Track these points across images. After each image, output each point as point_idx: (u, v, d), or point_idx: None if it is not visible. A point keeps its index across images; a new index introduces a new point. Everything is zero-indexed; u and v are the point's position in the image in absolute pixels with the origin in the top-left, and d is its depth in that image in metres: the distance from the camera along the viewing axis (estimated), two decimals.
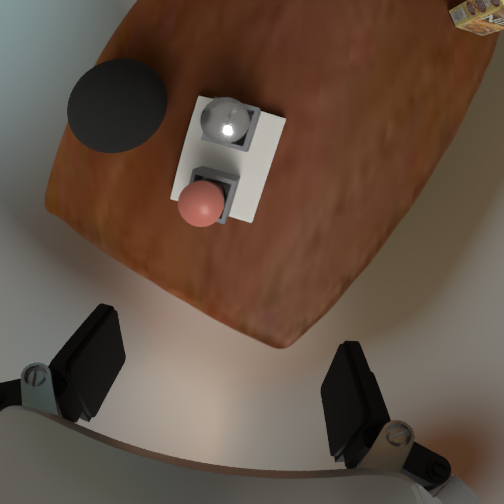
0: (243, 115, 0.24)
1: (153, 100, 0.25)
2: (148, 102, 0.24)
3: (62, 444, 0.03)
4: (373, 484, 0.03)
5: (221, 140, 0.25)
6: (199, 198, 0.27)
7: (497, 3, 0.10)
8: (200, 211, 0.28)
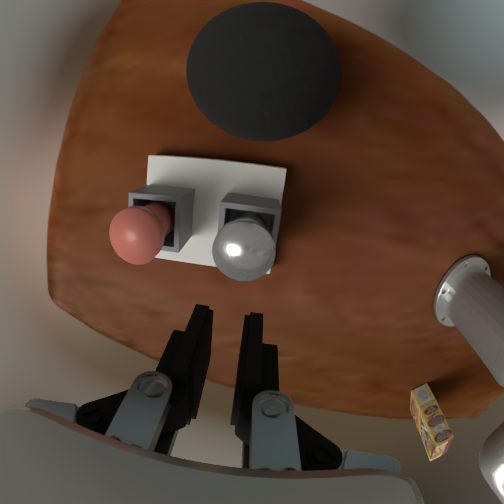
0: (253, 274, 0.21)
1: (268, 137, 0.19)
2: (263, 133, 0.18)
3: (62, 444, 0.03)
4: (373, 484, 0.03)
5: (215, 253, 0.21)
6: (140, 235, 0.20)
7: (438, 440, 0.29)
8: (126, 239, 0.21)
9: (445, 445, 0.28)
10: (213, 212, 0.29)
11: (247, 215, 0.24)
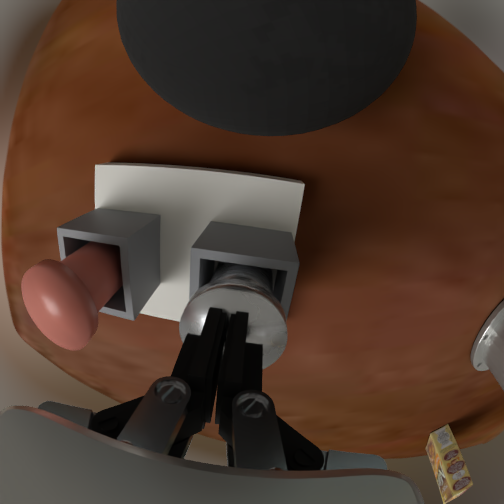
0: None
1: (278, 126, 0.09)
2: (268, 117, 0.08)
3: (62, 444, 0.03)
4: (373, 484, 0.03)
5: None
6: (58, 311, 0.10)
7: (456, 488, 0.18)
8: (43, 312, 0.10)
9: (463, 491, 0.17)
10: (189, 251, 0.19)
11: None
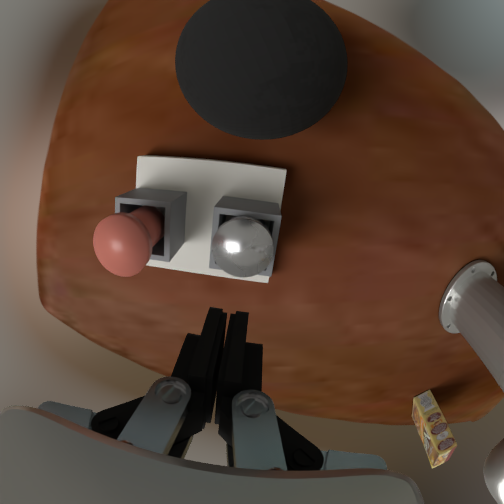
0: (251, 270, 0.22)
1: (266, 134, 0.17)
2: (261, 131, 0.16)
3: (62, 444, 0.03)
4: (373, 484, 0.03)
5: (215, 249, 0.21)
6: (125, 245, 0.18)
7: (441, 448, 0.27)
8: (111, 249, 0.18)
9: (448, 453, 0.26)
10: (207, 217, 0.27)
11: None
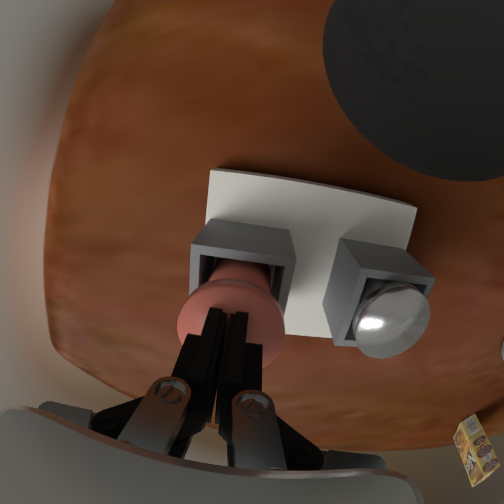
0: (397, 349, 0.14)
1: (467, 180, 0.09)
2: (473, 177, 0.08)
3: (62, 444, 0.03)
4: (373, 484, 0.03)
5: (362, 330, 0.13)
6: None
7: (486, 469, 0.19)
8: None
9: (491, 473, 0.18)
10: (314, 265, 0.19)
11: None
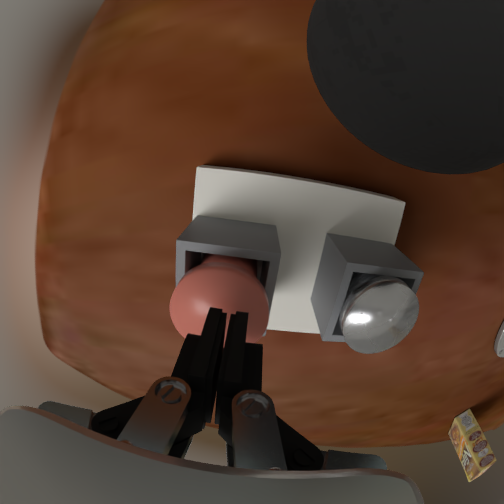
0: (385, 344, 0.14)
1: (453, 172, 0.09)
2: (459, 169, 0.08)
3: (62, 444, 0.03)
4: (373, 484, 0.03)
5: (349, 325, 0.14)
6: None
7: (482, 465, 0.20)
8: (203, 318, 0.13)
9: (487, 468, 0.19)
10: (301, 261, 0.19)
11: None
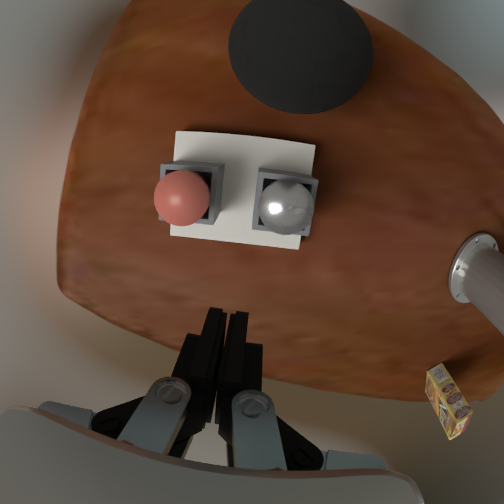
0: (294, 228, 0.24)
1: (310, 107, 0.19)
2: (308, 103, 0.18)
3: (62, 444, 0.03)
4: (373, 484, 0.03)
5: (261, 209, 0.23)
6: (187, 197, 0.22)
7: (458, 416, 0.30)
8: (172, 201, 0.22)
9: (465, 422, 0.29)
10: (243, 187, 0.29)
11: None
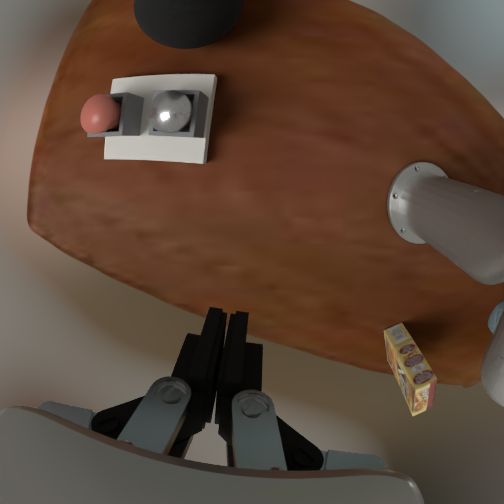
0: (174, 126, 0.25)
1: (183, 35, 0.20)
2: (178, 31, 0.20)
3: (62, 444, 0.03)
4: (373, 484, 0.03)
5: (150, 114, 0.25)
6: (100, 111, 0.24)
7: (417, 381, 0.30)
8: (91, 116, 0.24)
9: (428, 390, 0.30)
10: None
11: None
